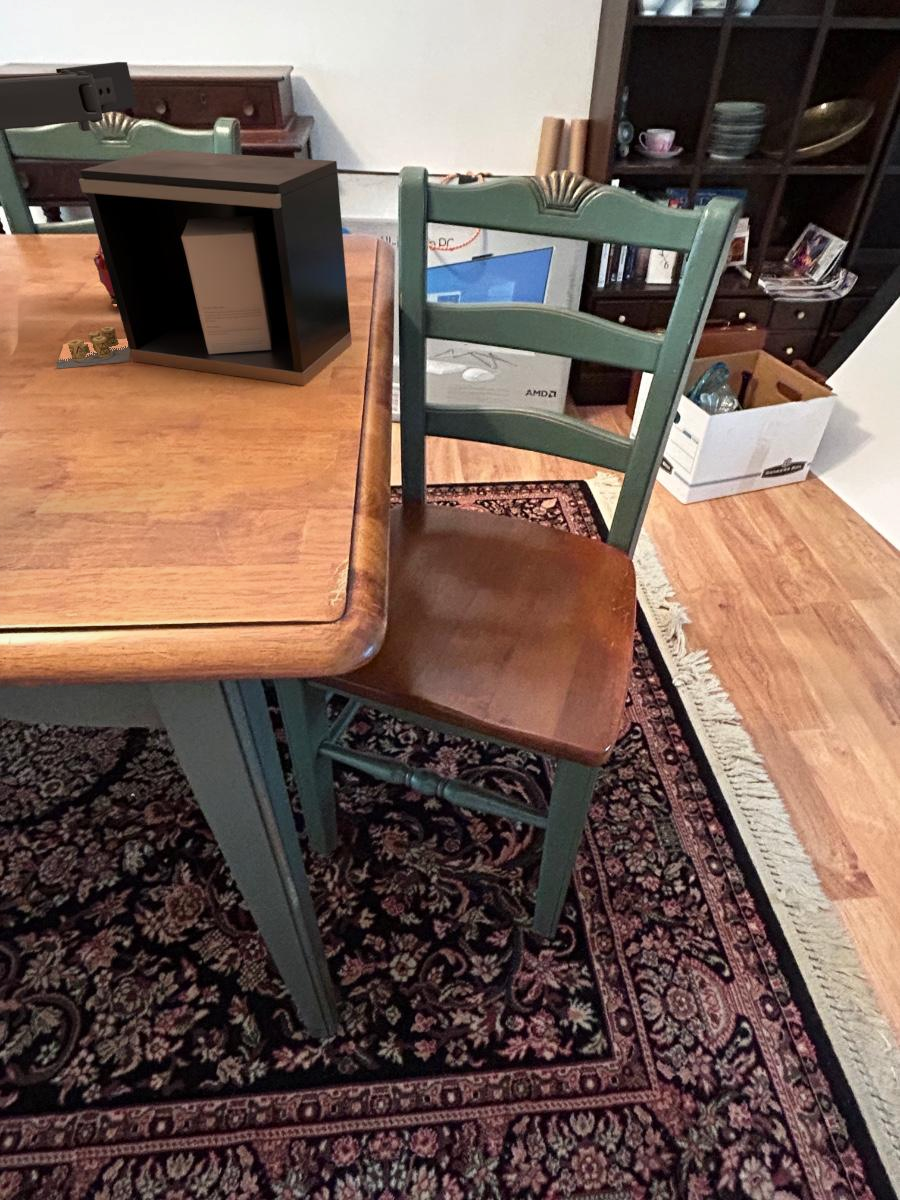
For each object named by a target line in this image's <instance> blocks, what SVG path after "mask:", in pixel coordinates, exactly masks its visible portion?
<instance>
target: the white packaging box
mask: <svg viewBox="0 0 900 1200" xmlns="http://www.w3.org/2000/svg"><path fill="white" fill-rule="evenodd" d="M181 238H182V242H183V245H184V249H185V253H186V257H187V262H188V266H189V271H190V275H191V279H192V284H193V289H194V293H195V298H196V302H197V307H198V311H199V316H200V320H201V325H202V329H203V333H204V337H205V341H206V346H207V350H208V353H209V354H219V353H233V352H247V351H262V350H271V349H272V326H271V320H270V314H269V308H268V302H267V296H266V290H265V284H264V277H263V271H262V265H261V258H260V252H259V246H258V240H257V234H256V228H255V223H254V218H253V216H244V217H225V218H202V219H188V221H187V224H186V227H185V230H184V232H183V234H182V236H181Z"/></svg>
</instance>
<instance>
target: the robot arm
mask: <svg viewBox="0 0 900 1200" xmlns="http://www.w3.org/2000/svg"><path fill="white" fill-rule="evenodd" d="M55 71H56V72H42V73H17V74H0V131H4V130H13V129H23V128H35V127H43V126H44V127H45V126H52V125H54V126H55V125H63V124H73V123H77V125H78V128H79V130H81V131H82V132H89V131H91V126H90V123H99V122H101V121H103V120H104V116H103V114H106V113H113V112H117V111H124V110H128V109H134V108H137V107H138V106H137V101H136V96H135V91H134V87H133V82H132V78H131V74H130V70H129V64H128V62H127V61H113V62H104V63H96V64H87V65H79V66H71V67H69V66H68V67H60V68H55Z"/></svg>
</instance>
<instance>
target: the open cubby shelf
mask: <svg viewBox="0 0 900 1200" xmlns="http://www.w3.org/2000/svg"><path fill="white" fill-rule="evenodd" d="M79 173H80V177H81V178H79V179H78V182H79V186H80V189H81V192H82V193H84V194H86V198H87V201H88V205H89V206H88V207H89V209H90V212H91V217H92V219H93V223H94V227H95V231H96V233H97V239H98V241H99V243H100V245H101V248H102V252H103V256H104V259H105V263H106V266H107V270H108V273H109V277H110V281H111V284H112V288H113V291H114V295H115V298H116V302H117V306H118V307H117V309H118V313H119V316H120V319H121V323H122V326H123V330H124V334H125V338H127V341H128V345H129V348H130V356H131V359H132V362H135V363H141V364H148V365H156V366H162V367H169V368H175V369H176V368H177V369H182V370H183V369H184V370H189V371H197V372H203V373H210V374H217V375H224V376H225V375H226V376H232V377H240V378H246V379H252V380H253V379H254V380H260V381H267V382H275V383H282V384H287V385H288V384H289V385H293V386H302V387H305V386H306V385H307V384H308V383H309V382H310V381H311V380H313V379H314V378H315V377H316V376H317V375H319V373H321V372H322V371H323V370H324V369H326V367H327V366H329V365H330V364H331V363H332V362H333V361H334V360H336V359H337V358H338V357H339V356H340V355H341V354H343V352H345V351H346V350H347V349H348V348H349V347H350V346H352V344H353V343H352V341H353V340H352V332H351V322H350V320H351V318H350V308H349V305H350V304H349V296H348V282H347V271H346V270H347V269H346V260H345V247H344V245H345V244H344V236H343V235H344V234H343V223H342V221H343V220H342V211H341V199H340V197H341V196H340V187H339V186H340V185H339V176H338V175H339V174H338V163H337V160H328V159H313V158H312V159H311V158H295V157H282V156H281V157H279V156H264V155H250V154H249V155H248V154H234V153H233V154H232V153H217V152H203V151H187V150H173V149H172V150H171V149H155V150H151V151H147V152H143V153H140V154H136V155H132V156H128V157H124V158H120V159H116V160H113V161H109V162H105V163H102V164H98V165H96V166H95V165H94V166H91V167H87V168H83V169H80V170H79ZM244 216H253V218H254V223H255V228H256V234H257V240H258V246H259V252H260V258H261V265H262V271H263V277H264V284H265V290H266V296H267V302H268V308H269V314H270V320H271V326H272V349H271V350H262V351H247V352H233V353H219V354H209V353H208V350H207V346H206V341H205V337H204V333H203V329H202V325H201V320H200V316H199V311H198V307H197V302H196V298H195V293H194V289H193V284H192V279H191V275H190V271H189V266H188V262H187V257H186V253H185V249H184V245H183V242H182V238H181V236H182V234H183V232H184V230H185V227H186V224H187V221H188V219H202V218H225V217H244Z"/></svg>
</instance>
